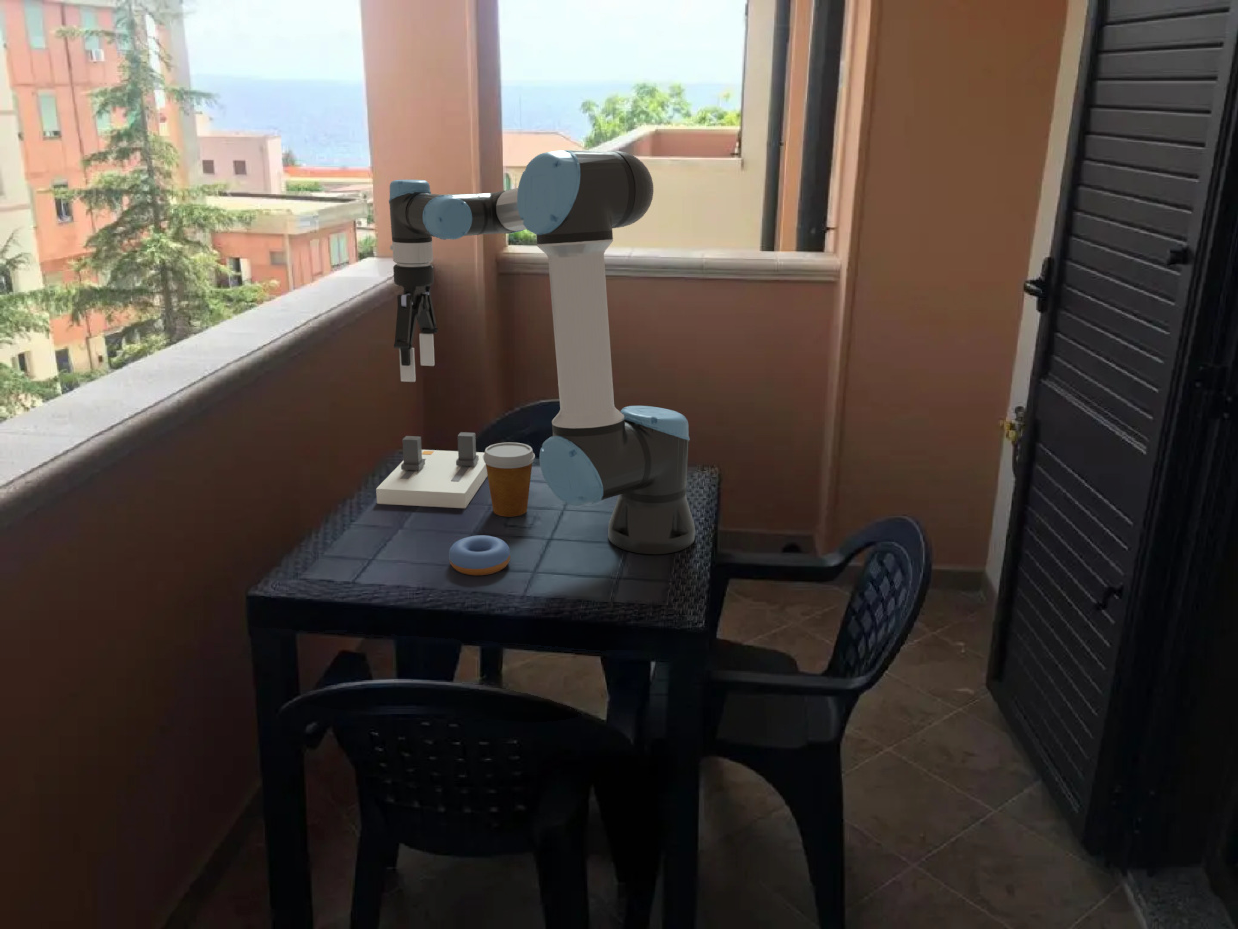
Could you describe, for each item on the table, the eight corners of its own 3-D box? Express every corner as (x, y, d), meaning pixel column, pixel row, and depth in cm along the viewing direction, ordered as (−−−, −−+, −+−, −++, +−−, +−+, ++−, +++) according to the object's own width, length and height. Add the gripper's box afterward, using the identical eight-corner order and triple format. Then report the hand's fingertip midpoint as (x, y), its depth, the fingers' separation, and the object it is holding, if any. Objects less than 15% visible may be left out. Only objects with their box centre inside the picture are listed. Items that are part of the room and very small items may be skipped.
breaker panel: (465, 508, 183) (464, 492, 182) (377, 503, 184) (376, 488, 183) (493, 466, 205) (493, 452, 204) (414, 462, 207) (414, 448, 206)
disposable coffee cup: (532, 521, 177) (532, 458, 173) (480, 519, 178) (478, 457, 174) (538, 502, 186) (537, 442, 182) (488, 500, 187) (486, 441, 183)
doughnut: (441, 575, 155) (443, 548, 154) (455, 552, 164) (457, 527, 163) (503, 584, 155) (505, 557, 153) (513, 560, 164) (515, 535, 163)
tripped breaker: (419, 470, 192) (417, 441, 190) (401, 469, 192) (399, 440, 190) (425, 464, 196) (423, 435, 194) (407, 463, 196) (405, 434, 194)
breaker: (473, 466, 195) (472, 437, 193) (456, 465, 195) (455, 436, 193) (478, 459, 199) (477, 431, 197) (461, 459, 199) (460, 431, 197)
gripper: (413, 254, 199) (418, 358, 206) (372, 272, 176) (379, 387, 183) (449, 256, 198) (452, 359, 205) (413, 273, 175) (418, 389, 182)
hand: (418, 373), depth 194 cm, fingers open, 12 cm apart
